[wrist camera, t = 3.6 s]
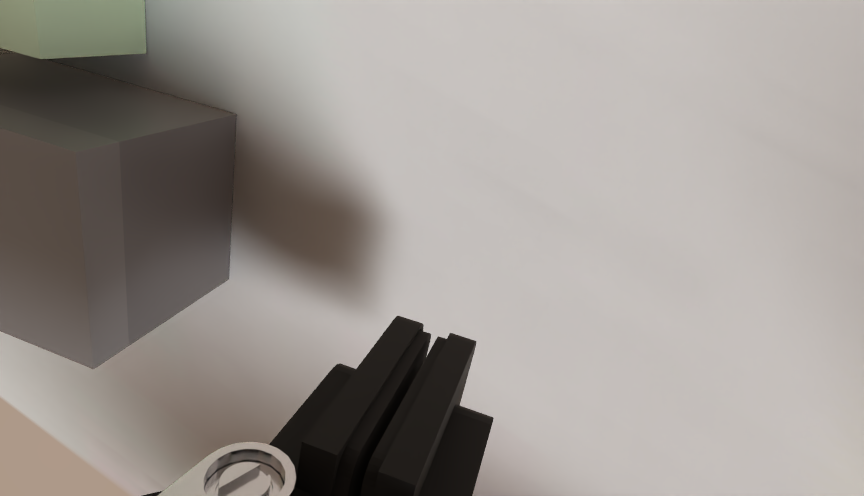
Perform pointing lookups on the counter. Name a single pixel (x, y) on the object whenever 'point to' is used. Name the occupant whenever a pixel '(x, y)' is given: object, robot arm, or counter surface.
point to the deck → (73, 27)
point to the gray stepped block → (106, 207)
